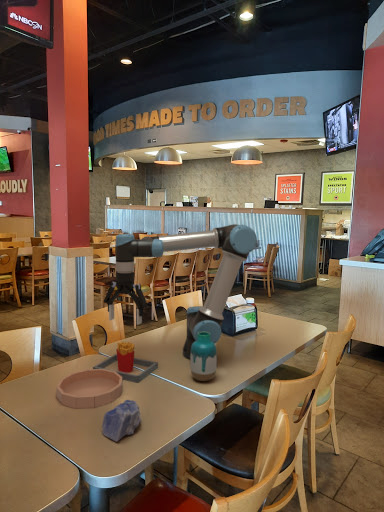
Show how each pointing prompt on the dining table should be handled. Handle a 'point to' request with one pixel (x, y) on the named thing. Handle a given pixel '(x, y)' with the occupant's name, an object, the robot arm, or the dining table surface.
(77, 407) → the bowl
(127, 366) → the french fries
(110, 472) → the dining table surface
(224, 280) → the robot arm
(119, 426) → the mineral
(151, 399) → the dining table surface
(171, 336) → the dining table surface
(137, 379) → the gray square frame
